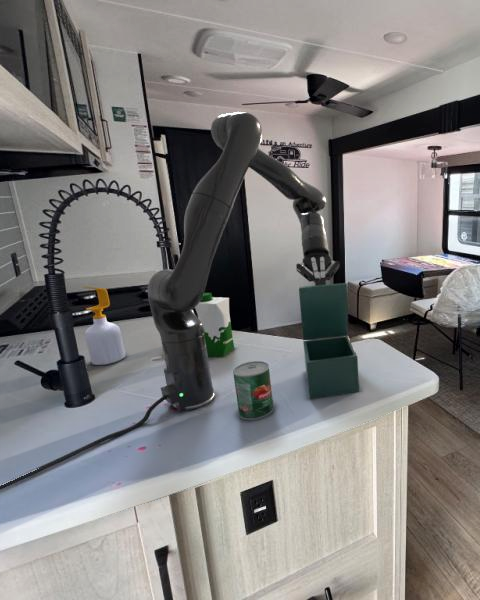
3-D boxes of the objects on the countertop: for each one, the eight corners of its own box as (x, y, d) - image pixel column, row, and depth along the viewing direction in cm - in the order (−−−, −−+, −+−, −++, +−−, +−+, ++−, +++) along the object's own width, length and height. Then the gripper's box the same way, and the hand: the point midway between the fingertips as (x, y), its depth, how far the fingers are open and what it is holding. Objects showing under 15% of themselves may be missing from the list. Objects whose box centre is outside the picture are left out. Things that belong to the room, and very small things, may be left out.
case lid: (346, 284, 102) (346, 282, 103) (298, 288, 99) (298, 286, 100) (347, 335, 110) (347, 333, 111) (303, 340, 107) (302, 338, 108)
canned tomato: (272, 417, 88) (267, 373, 85) (236, 422, 86) (229, 377, 83) (274, 400, 95) (270, 359, 92) (241, 404, 94) (235, 363, 91)
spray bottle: (84, 364, 121) (65, 288, 115) (112, 353, 129) (95, 282, 123) (105, 367, 118) (87, 289, 112) (132, 355, 127) (116, 283, 121)
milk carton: (214, 347, 132) (206, 290, 127) (239, 347, 131) (231, 291, 126) (199, 357, 124) (189, 297, 119) (224, 358, 122) (215, 297, 117)
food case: (359, 391, 98) (357, 356, 96) (309, 398, 95) (306, 362, 93) (349, 367, 113) (347, 335, 110) (306, 372, 110) (303, 340, 108)
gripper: (291, 236, 110) (297, 286, 102) (337, 234, 113) (346, 282, 105) (292, 252, 117) (297, 300, 108) (336, 249, 120) (344, 296, 111)
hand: (321, 291), depth 107 cm, fingers closed
